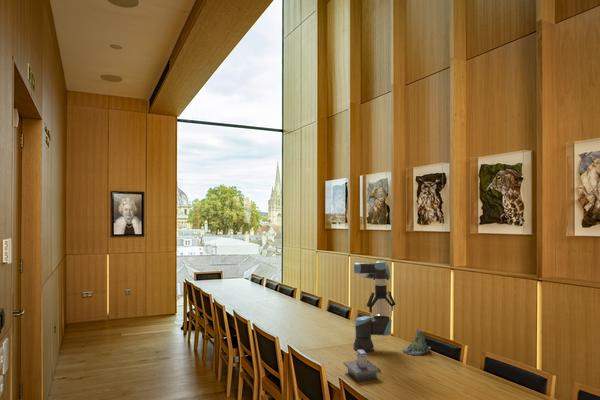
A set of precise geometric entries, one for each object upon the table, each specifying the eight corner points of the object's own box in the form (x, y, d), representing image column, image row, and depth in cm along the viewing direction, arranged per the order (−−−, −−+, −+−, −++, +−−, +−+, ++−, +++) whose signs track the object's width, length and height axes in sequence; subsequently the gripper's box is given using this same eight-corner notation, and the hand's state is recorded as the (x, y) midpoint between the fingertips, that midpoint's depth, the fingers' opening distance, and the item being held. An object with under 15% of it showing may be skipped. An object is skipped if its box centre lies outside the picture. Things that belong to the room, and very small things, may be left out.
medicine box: (356, 363, 263) (356, 349, 263) (363, 363, 263) (363, 349, 264) (360, 368, 255) (359, 353, 256) (367, 367, 256) (367, 353, 256)
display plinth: (343, 371, 266) (343, 361, 267) (366, 368, 271) (366, 359, 271) (356, 383, 247) (356, 372, 247) (380, 380, 251) (380, 369, 252)
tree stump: (397, 349, 312) (401, 325, 315) (420, 354, 317) (424, 330, 319) (409, 356, 295) (413, 330, 297) (434, 360, 299) (438, 335, 302)
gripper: (366, 286, 275) (366, 319, 274) (400, 284, 281) (400, 316, 280) (361, 284, 282) (361, 316, 281) (394, 283, 288) (395, 314, 287)
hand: (381, 316), depth 281 cm, fingers open, 13 cm apart
